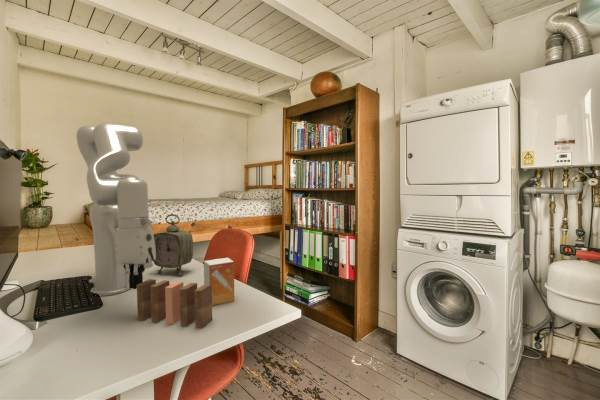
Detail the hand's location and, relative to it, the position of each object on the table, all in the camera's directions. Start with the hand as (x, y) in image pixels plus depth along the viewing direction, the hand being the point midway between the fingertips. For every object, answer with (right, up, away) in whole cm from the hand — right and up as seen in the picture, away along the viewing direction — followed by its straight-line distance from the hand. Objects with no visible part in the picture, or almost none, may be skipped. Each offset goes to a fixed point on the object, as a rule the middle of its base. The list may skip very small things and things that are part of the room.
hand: (136, 287), depth 83 cm
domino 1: (+3, -8, 0) cm, 9 cm away
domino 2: (+8, -8, -1) cm, 11 cm away
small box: (+21, -8, +11) cm, 25 cm away
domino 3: (+12, -8, -2) cm, 15 cm away
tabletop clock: (-6, -6, +40) cm, 41 cm away
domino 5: (+21, -9, -4) cm, 23 cm away
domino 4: (+16, -9, -3) cm, 19 cm away
